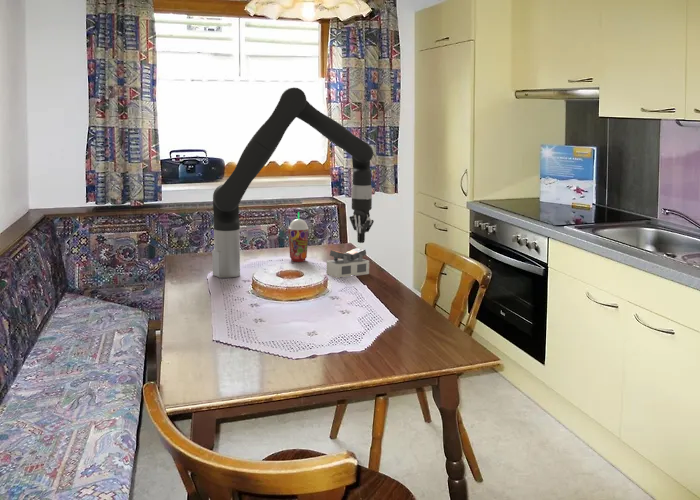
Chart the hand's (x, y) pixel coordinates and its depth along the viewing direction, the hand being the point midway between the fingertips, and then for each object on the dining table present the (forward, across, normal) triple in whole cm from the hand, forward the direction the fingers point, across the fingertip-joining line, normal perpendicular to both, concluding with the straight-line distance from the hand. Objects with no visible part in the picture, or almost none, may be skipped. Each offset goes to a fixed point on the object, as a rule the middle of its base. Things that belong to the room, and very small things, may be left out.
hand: (361, 242), depth 259 cm
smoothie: (+12, -30, -10) cm, 34 cm away
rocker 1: (+4, 0, -9) cm, 10 cm away
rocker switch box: (+12, 0, -6) cm, 13 cm away
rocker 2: (+4, 0, -2) cm, 5 cm away
